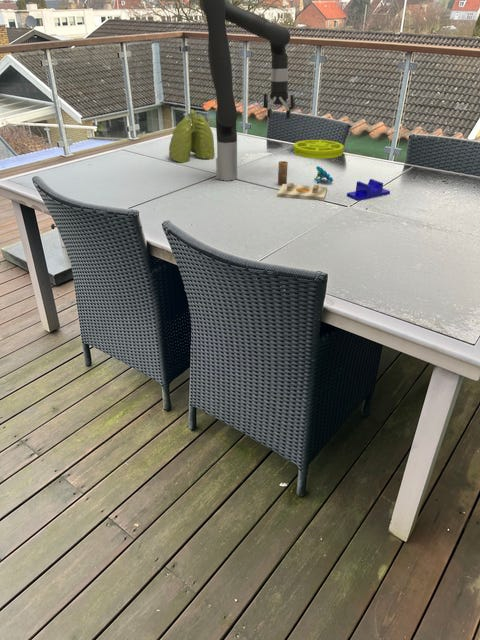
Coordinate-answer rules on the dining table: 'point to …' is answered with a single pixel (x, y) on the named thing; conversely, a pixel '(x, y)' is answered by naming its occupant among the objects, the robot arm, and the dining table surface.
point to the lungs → (192, 139)
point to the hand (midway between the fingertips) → (278, 118)
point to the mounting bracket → (368, 190)
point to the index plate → (302, 191)
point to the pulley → (318, 149)
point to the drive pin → (282, 173)
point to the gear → (322, 175)
